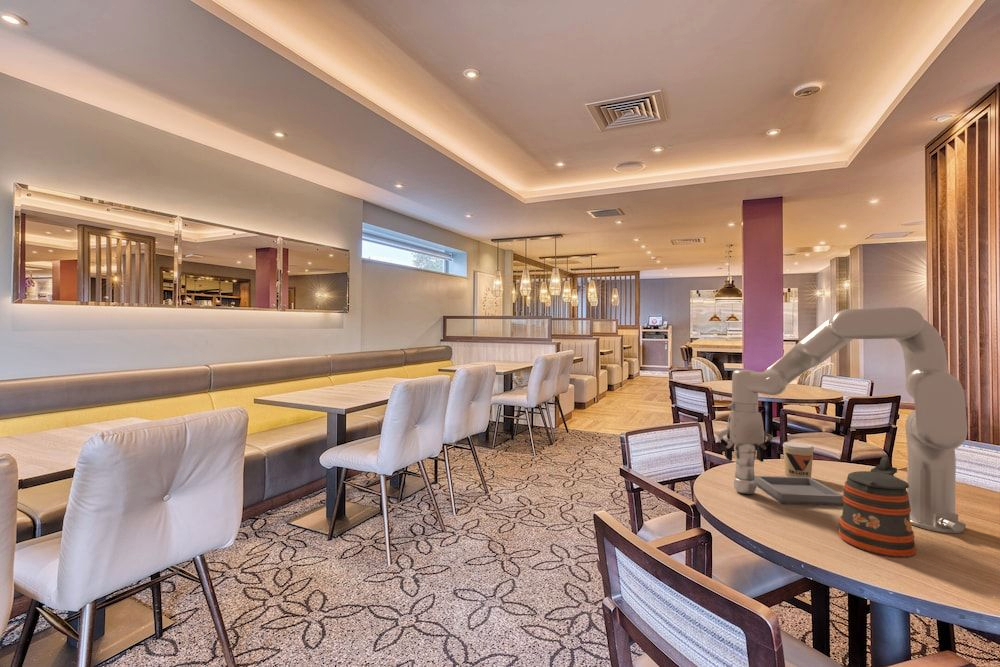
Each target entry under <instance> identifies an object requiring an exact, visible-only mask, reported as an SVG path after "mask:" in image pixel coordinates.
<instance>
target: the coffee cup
mask: <svg viewBox="0 0 1000 667" xmlns="http://www.w3.org/2000/svg"><path fill="white" fill-rule="evenodd" d="M782 447H783V448H782V450H783V463H784V465H783V466H784V474H785V476H784V477H786V476H787V477H810V478H812V472H813V461H814V460H813V459H814V458H813V457H814V450H815V449H814V446H813V445H812V444H809V443H806V442H801V441H785V442H783V443H782Z"/></svg>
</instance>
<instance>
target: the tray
mask: <svg viewBox="0 0 1000 667" xmlns="http://www.w3.org/2000/svg"><path fill="white" fill-rule="evenodd" d="M754 476H755V482H756V487H757V486H758V487H757V488H759V489H760V490H761V491H764V492H765V493H766V494H768V495H769V496H770V497H771V498H772V499H774V500H775V501H777V502H779V504H781V505H797V506H798V505H799V506H824V507H825V506H826V507H827V506H828V507H829V506H830V507H843V505H844V501H843V493H842V494H841V493H840V492H838V491H836V490H834V489H832V488H831V487H829V486H827V485H825V484H823V483H822V482H819V481H818V480H816V479H814V478H812V477H811V478H810V477H786V476H782V475H781V476H780V475H779V476H778V475H777V476H776V475H775V476H773V475H754Z"/></svg>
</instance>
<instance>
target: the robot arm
mask: <svg viewBox="0 0 1000 667" xmlns="http://www.w3.org/2000/svg"><path fill="white" fill-rule="evenodd" d="M882 339H884V340H887V339H888V340H891V339H894V340H896V342H898V344H900V346H901V350H902V353H903V359H904V370H905V372H904V373H905V389H906V392H907V393H908V395H909V396H910V397H911V398H912V399H913V402H914V410H912V411H911V412H910V413H909V414H908V415H907V417H906V420H905V436H906V447H907V448H906V450H907V454H906V455H907V464H906V465H907V470H906V471H907V474H906V475H907V480H906V482H907V483H908V485H909V488H906V491H907V492H908V496H909V503H910V509H911V512H910V519H911V526H914V527H918V528H920V529H924V530H929V531H932V532H938V533H945V534H959V533H963V532H964V531H965V528H967V525H966V523H963V522H962V521H959V514H957V513H956V479H957V478H956V471H957V468H956V466H957V465H956V462H957V461H956V451H955V450H956V449H957V448H959V447H961V446H962V445H963V444H964V442H965V441H966V440H967V437H968V436H967V435H968V420H967V419H968V418H967V408H966V407H967V406H966V397H965V391H964V389H963V385H962V384H961V382H960V381H959V379H957V378H956V377H955V376H954V375H953V374H950V373H949V366H948V359H947V354H946V347H945V343H944V340H943V338H942V336H941V334H940V332H939V331H938V330H937V329H936V328H935V327H934V326H933V324H932V323H930V322H928V321H927V320H926V319H925V318H924V317H923V315H922V314H921V313H920V311H918V310H916V309H914V308H912V307H906V306H894V307H877V308H876V307H875V308H847V309H842V310H839V311H837V312H835V313H834V314H832V315H831V316H830V317H828V318H827V319H826V320H825V321H823V322H822V323H821V324H820V325H819V326H817V327H815V328H814V330H812V331H811V332H810V333H808V334H807V335H806V336H805V337H804V338H802V339H801V340H800V341H799V342H797V343H796V344H795V345H794V346H793V347H792V348H791V349H790V350H789V351H788V352H787V353H785V354H784V355H783V356H781V358H779V359H778V360H777V361H775V362H774V363H773V364H772V365H771V366H769V367H768V368H767V369H765V370H764V371H756V370H752V369H735V370H733V372H732V375H731V378H732V379H731V381H732V382H731V403H728V404H727V408H728V409H731V410H730V411H729V414H728V417H727V424H726V428H725V429H723V430H721V431H719V432H717V433H716V437H717V439H718V440H719V441H718V442H720V444H722V446H723V447H724V457H725V459H726V460H727V461H729V462H732V461H733V448H731V447H732V446H733V445H735V443H737V444H754V445H757V448H756V460H758V461H759V462H761V463H764V459H765V451H766V450H767V447H768V446H770V445H771V442H773V439H774V435H772V434H771V433H769V432H767V431H765V430H764V421H763V416H762V412H759V394H764V395H768V396H777V395H780V394H782V393H783V392H784V391H785V390H786V388H787V386H788V385H789V384H790V383H792V382H793V381H794V380H795V379H797V378H798V377H799V376H801V375H802V374H804V373H805V372H807V371H809V370H810V369H812V368H815V367H817V366H819V365H821V364H822V363H824V362H826V361H827V360H828V359H829V358H830V357H831V356H833V355H834V354H835V353H836V352H838V351H840V350H841V349H842V348H844V347H845V346H846V345H847V344H849V343H850V342H851V341H853V340H882ZM724 436H726V438H727V439H726V440H725V439H724Z"/></svg>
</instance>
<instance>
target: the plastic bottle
mask: <svg viewBox="0 0 1000 667" xmlns="http://www.w3.org/2000/svg"><path fill="white" fill-rule="evenodd" d="M733 445H734V446H733V450H734V451H733V452H734V458H735V471H734V472H735V474H734V478H733V487H734V489H735V491H736V492H737V493H739V494H740V493H741V494H745V495H753V494H755V492H756V490H757V486H756V482H755V476H756V475H755V459H756V454H757V448H756V444H737V443H734V444H733Z"/></svg>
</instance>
